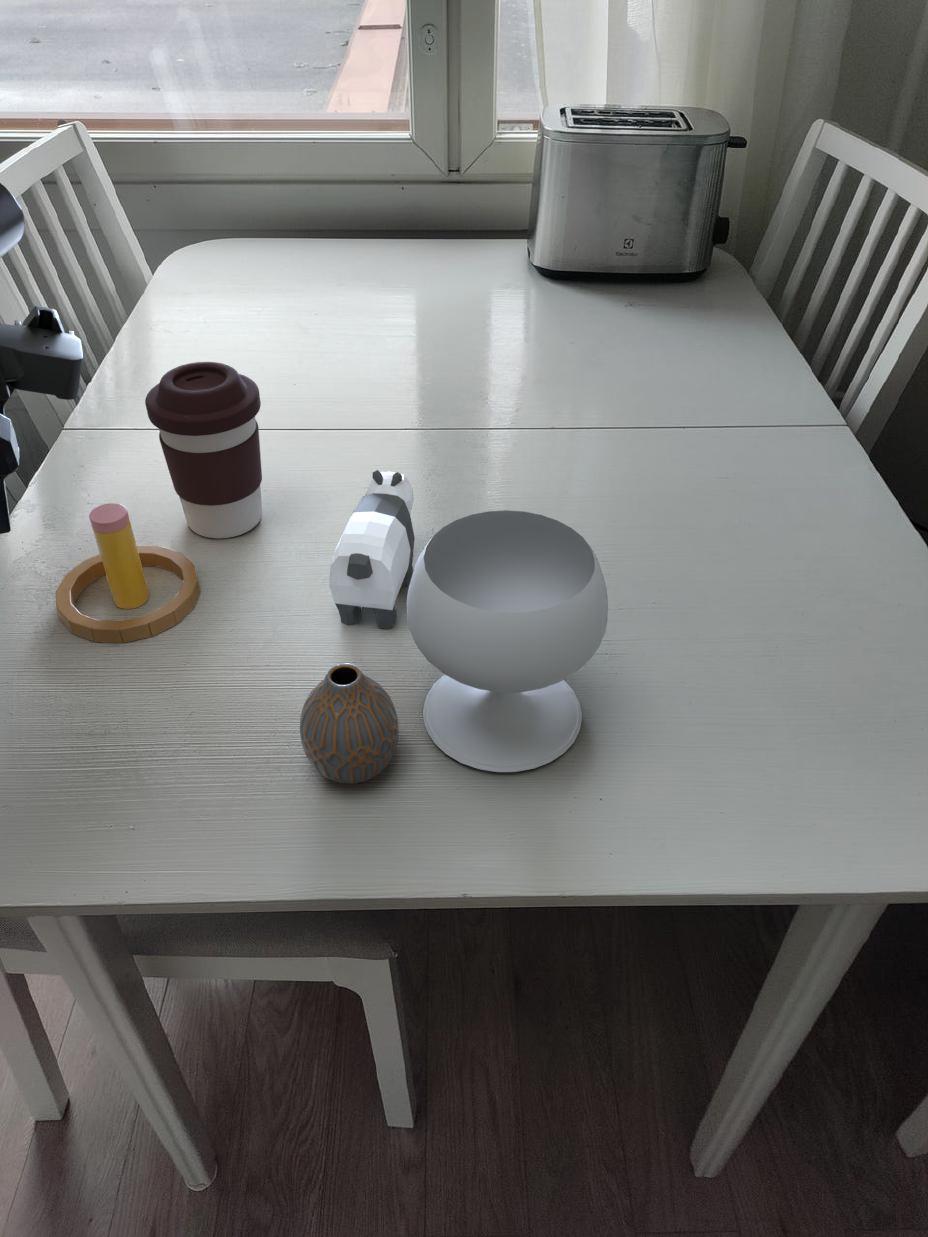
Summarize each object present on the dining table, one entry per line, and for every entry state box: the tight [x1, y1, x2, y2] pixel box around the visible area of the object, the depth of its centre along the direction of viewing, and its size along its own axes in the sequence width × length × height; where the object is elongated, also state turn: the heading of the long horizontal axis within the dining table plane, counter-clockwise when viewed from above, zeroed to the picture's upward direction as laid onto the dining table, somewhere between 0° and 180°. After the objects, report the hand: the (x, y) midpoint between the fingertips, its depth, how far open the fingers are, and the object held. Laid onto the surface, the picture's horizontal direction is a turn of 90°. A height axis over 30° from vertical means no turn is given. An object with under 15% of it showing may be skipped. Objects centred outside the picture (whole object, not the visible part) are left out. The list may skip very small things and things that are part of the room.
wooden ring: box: [55, 545, 201, 644], centre depth 84 cm, size 12×12×2 cm
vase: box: [299, 662, 399, 785], centre depth 67 cm, size 7×7×9 cm
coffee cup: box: [144, 361, 263, 539], centre depth 89 cm, size 10×10×15 cm
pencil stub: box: [88, 502, 150, 610], centre depth 81 cm, size 3×3×9 cm
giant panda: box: [329, 469, 416, 630], centre depth 83 cm, size 15×6×10 cm, turn 170°
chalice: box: [406, 509, 609, 773], centre depth 69 cm, size 14×14×15 cm
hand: (3, 500), depth 74 cm, fingers open, 9 cm apart
